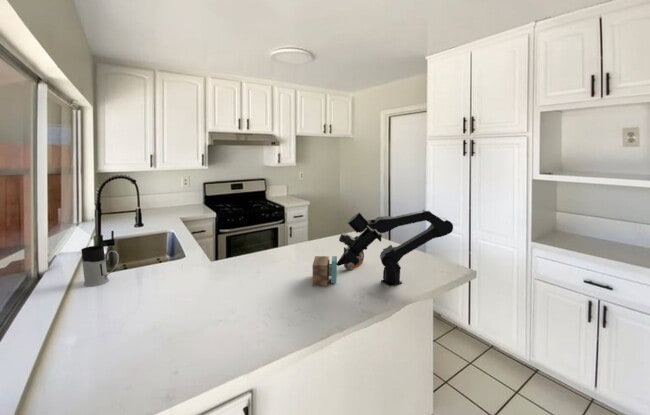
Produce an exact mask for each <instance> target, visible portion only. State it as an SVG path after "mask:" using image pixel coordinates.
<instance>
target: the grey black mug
mask: <svg viewBox="0 0 650 415" xmlns="http://www.w3.org/2000/svg"><path fill="white" fill-rule="evenodd" d="M80 251H81V261H82V269H83V277H84V283H83V286H84V287H86V288H91V287H99V286H102V285H105V284H108V283H109V281H110V280H109V277H108V275H110V274H111V273H112V272H113V271H115V269H116V268H117V267H118V264H119V261H120V260H119V257H120V256H119V253H118V252H117V251H116V250H110V251H108V252H107V253H106V256H105V247H104V245H90V246H87V247H86V246H85V247H83V248H81V249H80ZM111 252H112V253H115V254H116V264H115V265H114V267H113V269H111V270H110V271H109V272H108V270H107V261H108V260H109V254H110V253H111Z"/></svg>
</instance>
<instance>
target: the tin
mask: <svg viewBox="0 0 650 415" xmlns="http://www.w3.org/2000/svg"><path fill="white" fill-rule="evenodd" d="M364 259H365V252H364V250H363V251H362V252H361V253H360V256H359V263H358V264H357V265H356V266H355V265H354V264H353V263H352V262H350V263H347V264H343V266H344V268H345V269H346V270H350V271H352V270H355V269H357V268H358V267H360V266H362V264H363V263H364Z"/></svg>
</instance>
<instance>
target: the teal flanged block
mask: <svg viewBox="0 0 650 415" xmlns="http://www.w3.org/2000/svg"><path fill="white" fill-rule="evenodd" d="M337 262H338V256H336V255H332V256H331V263H329V277H331V284H337V277H338V276H337V275H338V266H337Z"/></svg>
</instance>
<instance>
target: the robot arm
mask: <svg viewBox="0 0 650 415" xmlns="http://www.w3.org/2000/svg"><path fill="white" fill-rule="evenodd" d="M425 221H427V222H428V223H429V224H430V225H429V226H428V227H427V228H426V229H425V230H423V231H422V232H419V233H418V234H416V235H415V236H412V237H411V238H409V239H408V240H406V241H404V242H403V243H400V244H399V245H398V246H393V245H392V244H389V245H388V246H386V248H383V249H382V251H381V252H380V254H379V259H380V262H381V264H382V266H383V274H382V275H383V276H382V279H381V280H380V282H381V283H383V284H386V285H388V286H391V287H395V286H398V285H400V284H403V281H401V279H400V278H401V269H402V267H401V265H400V263H399V262H400V260H402V258H403V257H404V256H405V255H407V254H409V253H410V252H412V251H413V252H414V250H416V249H417V248H420V247H421V246H423V245H425V244H427V243H428V242H430V241H431V240H433V239H436V238H442V237H444V236H447V235H450V234H451V233H452V232H453V231H454V225H453V223H452V222H451V221H450V220H449V219H446V218H445V217H438V216H437V215H435V214H434V213H432V212H431V210H429V209H423V210H419V211H415V212H409V213H405V214H401V215H395V216H388V215H387V216H386V215H385V216H378V217H376V218H375V219H368V220H367V219H366V218H365V217H364V216H363V214H362V213H361V211H359V212H358V213H356V214H355V215H353V216H352V217H351V218H350V219H348V221H347V224H348V226H349V227H350V228H352V230H353V231H354V232H355V233H357V234H358V233H359V235H355V237H353V236H352V235H351V234H350V235H349V233H346V232H344V231H342V232H341V233H340V236H339V237H338V242H340V243H343V244H344V245H345V246H346V247H345V246H344V247H343V253H342V255H341V256H340V258H339V259H338V260H337V267H339V266H344V264H347V263H350V262H352V263H353V264H354V265H355V266H356V265H357V264H358V263H359V256H360V253H361V252H362V251H363V252H364V251H366V250H368V247H369V246H371V244H372V243H373V242H374V241H375V240H378V241H379V242H382V236H383V235H382V234H384V233H387V232H390V231H392V230H393V229H395V228H398V227H402V226H405V225H410V224H414V223H415V224H416V223H420V222H425Z"/></svg>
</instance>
